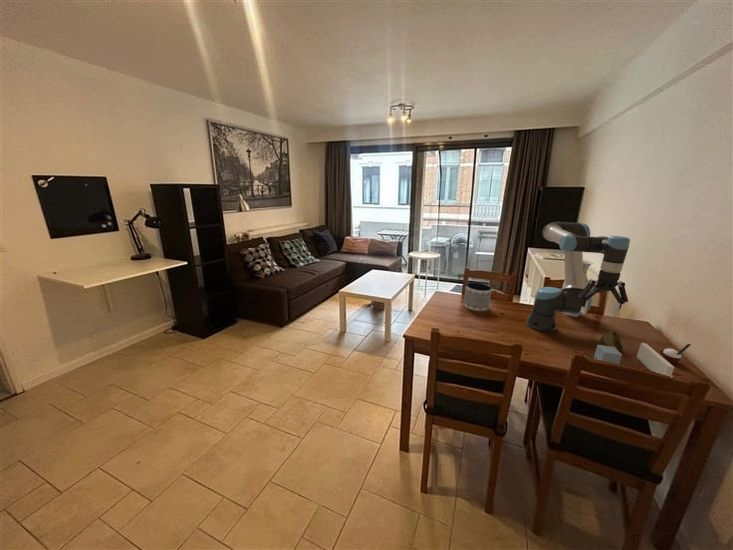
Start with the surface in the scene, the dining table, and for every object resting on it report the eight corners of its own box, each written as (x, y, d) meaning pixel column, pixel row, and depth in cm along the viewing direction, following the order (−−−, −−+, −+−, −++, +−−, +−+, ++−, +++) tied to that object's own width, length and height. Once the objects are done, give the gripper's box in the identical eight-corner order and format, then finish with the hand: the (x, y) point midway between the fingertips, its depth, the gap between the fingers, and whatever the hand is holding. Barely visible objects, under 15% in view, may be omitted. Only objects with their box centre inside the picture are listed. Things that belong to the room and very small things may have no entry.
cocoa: (656, 356, 149) (662, 334, 146) (671, 358, 148) (678, 335, 145) (669, 366, 140) (676, 343, 137) (685, 368, 139) (693, 344, 136)
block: (600, 365, 140) (604, 352, 137) (593, 357, 146) (597, 344, 144) (617, 368, 138) (622, 354, 136) (610, 359, 144) (614, 347, 142)
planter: (461, 301, 210) (464, 281, 206) (485, 303, 208) (488, 283, 204) (465, 310, 195) (468, 289, 191) (491, 312, 193) (494, 291, 189)
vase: (552, 312, 195) (565, 260, 184) (561, 306, 205) (573, 257, 194) (581, 321, 183) (596, 266, 173) (589, 315, 193) (604, 262, 183)
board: (662, 382, 128) (668, 366, 126) (636, 357, 147) (641, 342, 144) (679, 385, 127) (686, 369, 124) (651, 359, 145) (656, 345, 143)
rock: (594, 334, 163) (599, 340, 154) (608, 324, 160) (614, 330, 151) (610, 349, 161) (617, 356, 152) (626, 340, 158) (633, 346, 149)
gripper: (585, 271, 133) (574, 315, 139) (647, 275, 130) (632, 319, 136) (576, 266, 140) (566, 308, 146) (634, 270, 137) (621, 313, 144)
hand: (598, 314), depth 141 cm, fingers open, 13 cm apart
